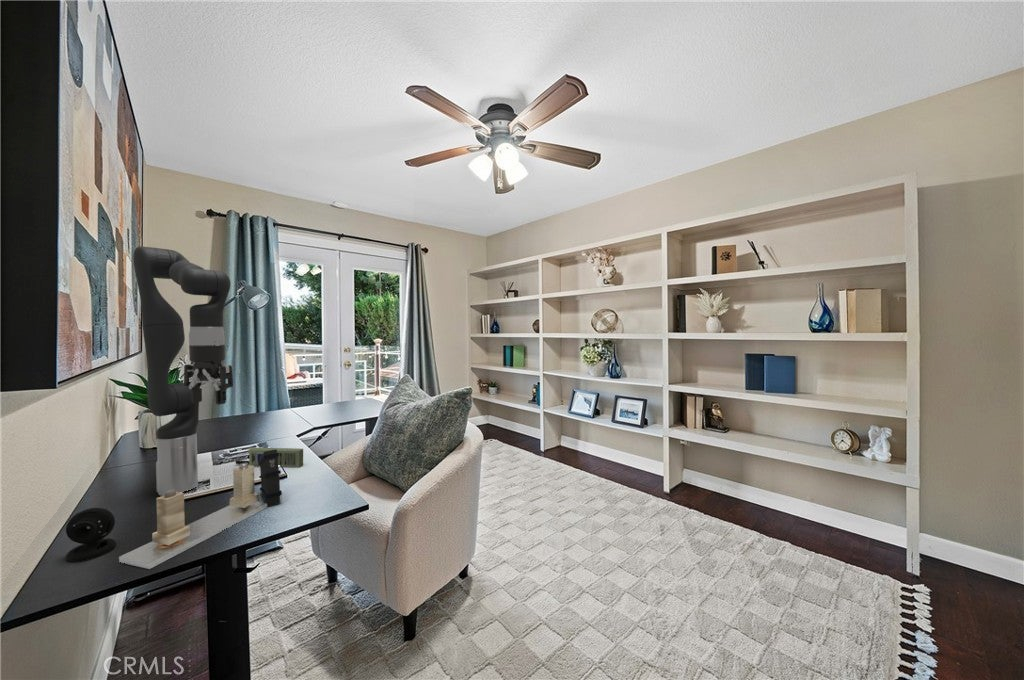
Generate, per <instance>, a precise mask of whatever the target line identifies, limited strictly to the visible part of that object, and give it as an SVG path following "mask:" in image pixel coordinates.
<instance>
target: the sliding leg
mask: <svg viewBox="0 0 1024 680" xmlns="http://www.w3.org/2000/svg"><path fill="white" fill-rule="evenodd" d="M185 519H186V518H185V493H180V492H176V490H168V491H166V492H164V496H160V497H159V496H158V497H156V528H157V530H156V531H155V532H153V533H151V538H152V539H151V540H152V541H151V542H155V543H160V544H165V545H170V544H172V543H174V542H176V541H178V540H180V539H183V538H185V537H187V536H189V535H190V526H186V524H185Z"/></svg>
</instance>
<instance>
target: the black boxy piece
mask: <svg viewBox="0 0 1024 680" xmlns="http://www.w3.org/2000/svg"><path fill="white" fill-rule="evenodd" d="M278 456H279V453H277V449H275V450H270V451H265V452H264V453H263V454H262V456H261V457H260V458H259V460H260V461H259V462H258V465H260V467H259V469H260V475H259V476H258V477H259V479H260V484H261V485H260V487H259V490H260V493H261V496H262V498H263V500H264V501H265V502H264V503H267V508H268V507H269V508H270V507H273V506H277V505H280V504H281V496H282V495H283V492H282V490H281V484H280V475H281V473H282V471H281V469H280V467H278Z"/></svg>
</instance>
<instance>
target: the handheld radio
mask: <svg viewBox="0 0 1024 680" xmlns="http://www.w3.org/2000/svg"><path fill="white" fill-rule="evenodd" d="M275 449H277V453H279V456H278V465H280V466H282V467H281V468H297V469H298V468H302V467H304V448H296V447H295V448H292V447H291V448H290V447H289V448H288V447H287V448H286V447H284V448H283V447H247V453H248V455H247V459H248V460H239V459H238V460H237V459H236V460H235V465H239V464H242V463H248V465H251V466H254V467H255V466H260V465H258V462H259V461H260V460H259V458H260V457H261V456H262V454H263V453H264V452H265V451H270V450H275Z"/></svg>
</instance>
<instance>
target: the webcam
mask: <svg viewBox="0 0 1024 680" xmlns="http://www.w3.org/2000/svg"><path fill="white" fill-rule="evenodd" d="M115 525H116V518H115V515H114V514H113V513H112V512H111V511H110V510H109V509H107V508H103V507H90V508H86V509H84V510H81V511H79V512H76V513H75V514H74V515H73V516H72V517H71V518H70V519H69V520H68V522H67V524H66V526H65V533H66V536H67V537H68V539H69V540H70V541H72V542H74V543H76V544H80V545H78V546H76V547H73V548H72V549H70V550H69V551H68V552H67V554H66V556H65V559H66V561H68V562H73V561H79V562H83V561H82V560H85V561H88V560H87V559H89V560H92V559H95V558H97V557H100V556H102V555H104V554H107V553H108V552H110V551H112V550H113V549H114V548H115V546H116V545H117V541H116V539H114V538H108V537H107V536H109V534H110V533H111V532H112V531H113V529H114V527H115ZM99 545H101V546H103V547H101V548H99V549H97V548H98V547H100V546H99ZM94 557H95V558H94ZM73 563H74V562H73Z"/></svg>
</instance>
